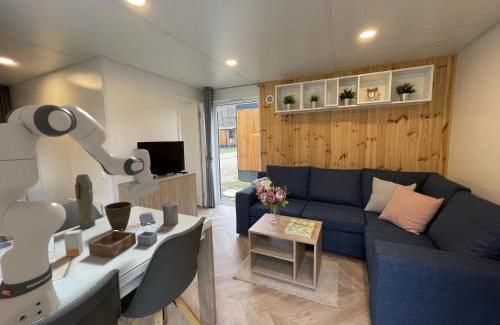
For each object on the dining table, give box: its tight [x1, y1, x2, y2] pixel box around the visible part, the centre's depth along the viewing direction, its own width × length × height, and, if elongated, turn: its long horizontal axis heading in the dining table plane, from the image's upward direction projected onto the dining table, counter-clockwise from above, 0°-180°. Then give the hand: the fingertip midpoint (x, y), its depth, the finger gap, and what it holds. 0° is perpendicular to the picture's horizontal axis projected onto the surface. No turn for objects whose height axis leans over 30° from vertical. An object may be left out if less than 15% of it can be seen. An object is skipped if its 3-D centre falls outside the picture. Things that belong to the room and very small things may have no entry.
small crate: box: [136, 230, 158, 247], centre depth 124 cm, size 6×8×5 cm
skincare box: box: [63, 229, 84, 257], centre depth 112 cm, size 6×4×12 cm
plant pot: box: [103, 201, 132, 231], centre depth 142 cm, size 15×15×16 cm
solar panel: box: [139, 211, 156, 225], centre depth 160 cm, size 8×23×2 cm, turn 31°
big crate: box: [88, 230, 137, 259], centre depth 117 cm, size 16×14×6 cm
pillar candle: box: [162, 201, 179, 227], centre depth 151 cm, size 10×10×15 cm
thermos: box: [74, 173, 96, 230], centre depth 145 cm, size 9×12×35 cm
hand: (144, 202), depth 121 cm, fingers open, 8 cm apart
